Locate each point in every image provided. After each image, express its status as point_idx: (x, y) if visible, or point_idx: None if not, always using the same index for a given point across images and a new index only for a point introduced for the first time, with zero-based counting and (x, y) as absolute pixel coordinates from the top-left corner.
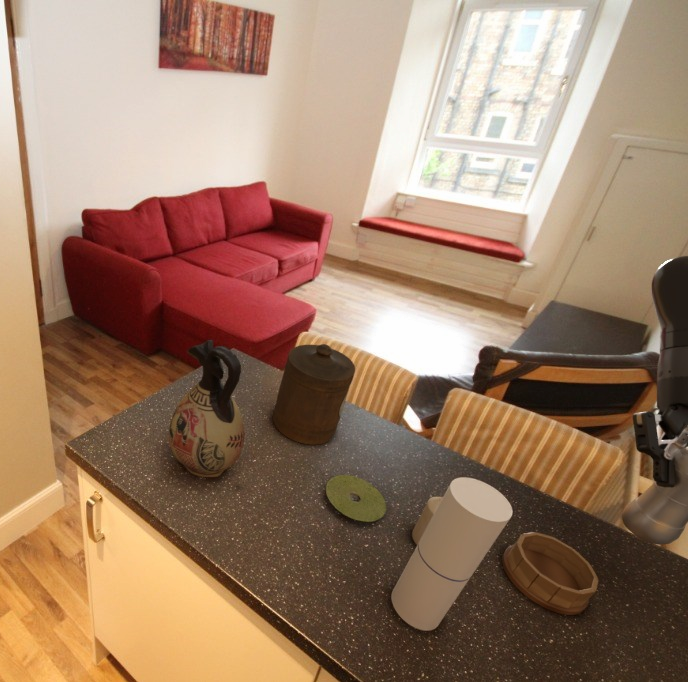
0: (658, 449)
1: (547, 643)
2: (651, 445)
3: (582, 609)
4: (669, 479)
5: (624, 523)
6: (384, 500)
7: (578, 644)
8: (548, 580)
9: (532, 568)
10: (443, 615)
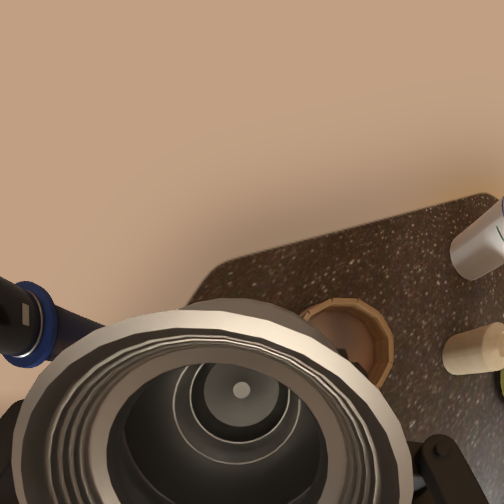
0: (424, 451)
1: (356, 257)
2: (452, 455)
3: (303, 311)
4: (348, 360)
5: (283, 391)
6: (501, 383)
7: (321, 267)
8: (370, 306)
9: (385, 321)
10: (466, 229)
